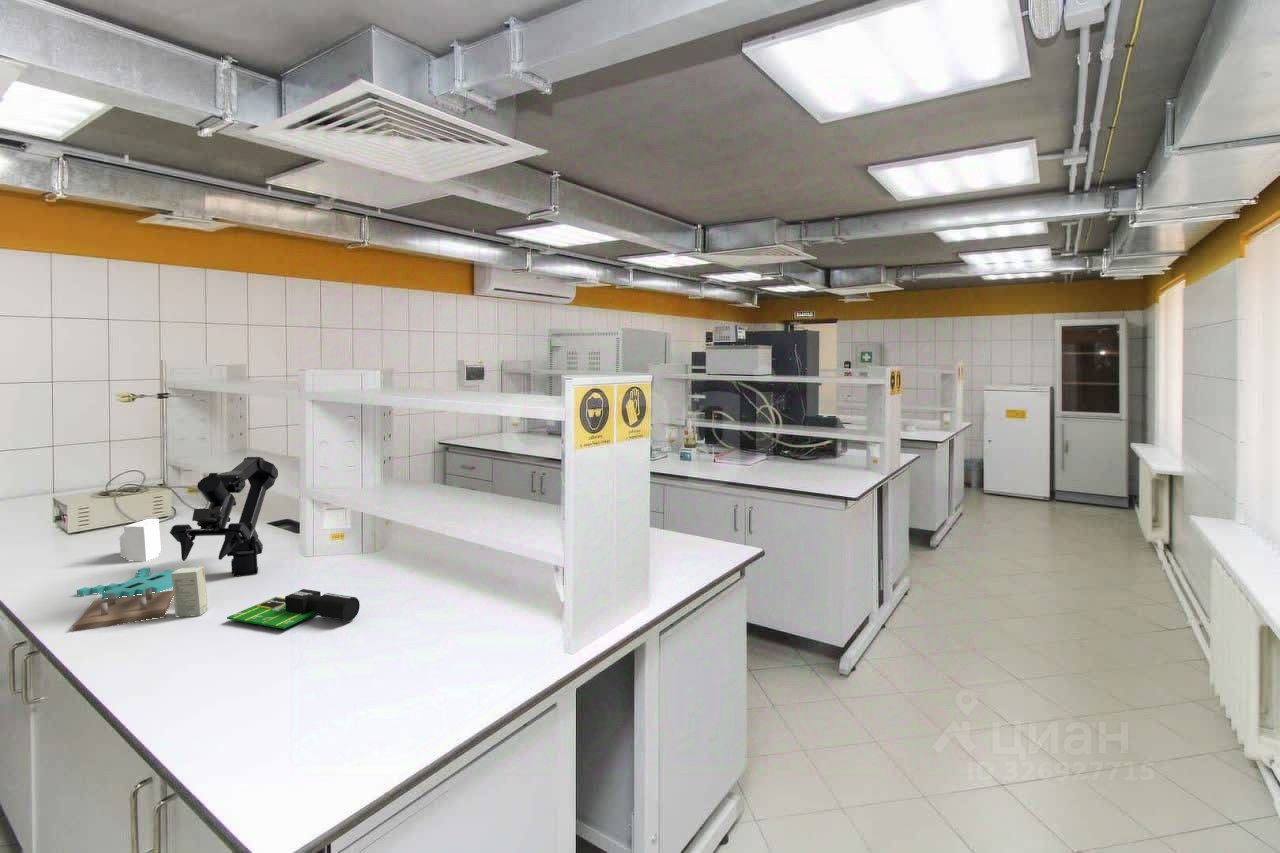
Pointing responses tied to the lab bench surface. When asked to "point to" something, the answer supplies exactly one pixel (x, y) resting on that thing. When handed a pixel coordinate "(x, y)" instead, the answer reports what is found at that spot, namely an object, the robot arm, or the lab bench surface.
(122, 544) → the white boxy block
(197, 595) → the skincare box
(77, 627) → the peg board
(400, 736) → the lab bench surface
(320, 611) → the circuit board with cylinder
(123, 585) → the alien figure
